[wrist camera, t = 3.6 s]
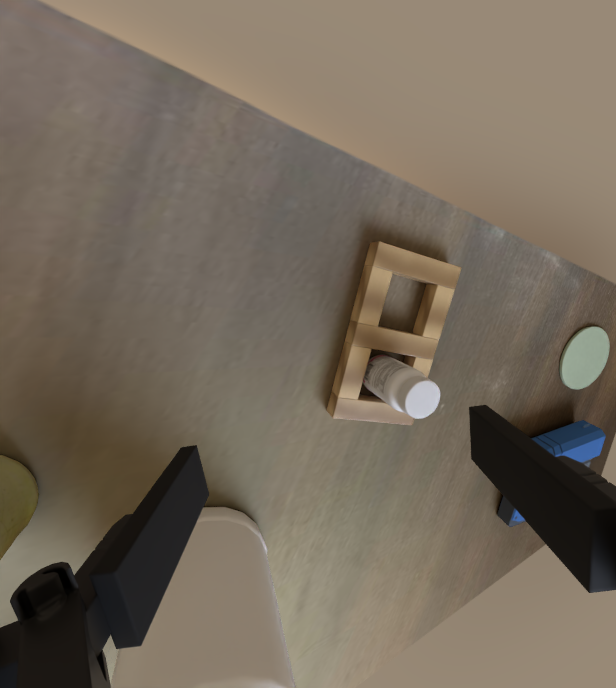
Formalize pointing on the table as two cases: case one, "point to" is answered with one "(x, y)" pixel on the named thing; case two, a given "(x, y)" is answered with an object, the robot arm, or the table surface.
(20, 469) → the mug
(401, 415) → the frame
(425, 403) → the pill bottle
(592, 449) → the stun gun
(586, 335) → the coaster
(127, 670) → the bottle
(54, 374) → the table surface
